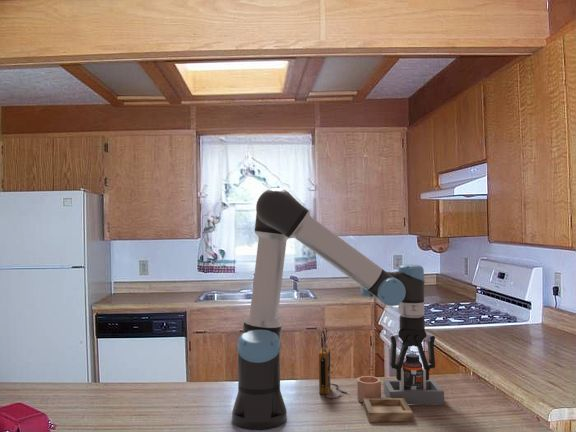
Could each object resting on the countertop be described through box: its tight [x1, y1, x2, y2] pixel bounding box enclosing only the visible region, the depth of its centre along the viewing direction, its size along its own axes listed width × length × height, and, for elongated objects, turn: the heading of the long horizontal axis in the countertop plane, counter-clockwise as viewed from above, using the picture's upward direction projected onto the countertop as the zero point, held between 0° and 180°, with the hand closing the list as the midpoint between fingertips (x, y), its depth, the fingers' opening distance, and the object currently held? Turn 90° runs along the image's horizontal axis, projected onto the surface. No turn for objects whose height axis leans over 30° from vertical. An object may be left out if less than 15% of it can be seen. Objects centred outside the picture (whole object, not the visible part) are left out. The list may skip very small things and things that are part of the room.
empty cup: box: [356, 375, 382, 403], centre depth 156 cm, size 7×7×6 cm
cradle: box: [382, 379, 445, 406], centre depth 156 cm, size 16×11×4 cm
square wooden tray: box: [362, 397, 414, 423], centre depth 145 cm, size 12×12×2 cm
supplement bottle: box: [402, 353, 423, 390], centre depth 157 cm, size 6×6×11 cm
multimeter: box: [318, 327, 351, 400], centre depth 163 cm, size 15×10×20 cm
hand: (412, 390), depth 156 cm, fingers closed on supplement bottle, 6 cm apart
